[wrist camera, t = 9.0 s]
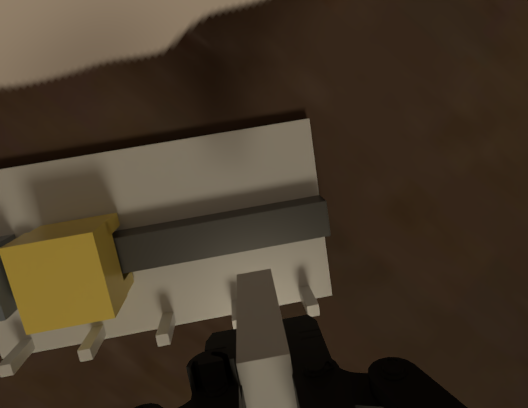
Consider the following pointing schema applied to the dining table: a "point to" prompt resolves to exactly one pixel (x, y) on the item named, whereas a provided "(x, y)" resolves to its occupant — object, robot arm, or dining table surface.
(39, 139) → the dining table surface
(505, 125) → the dining table surface
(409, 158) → the dining table surface
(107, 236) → the yellow sliding cube
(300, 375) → the robot arm
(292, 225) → the white pegged slab
